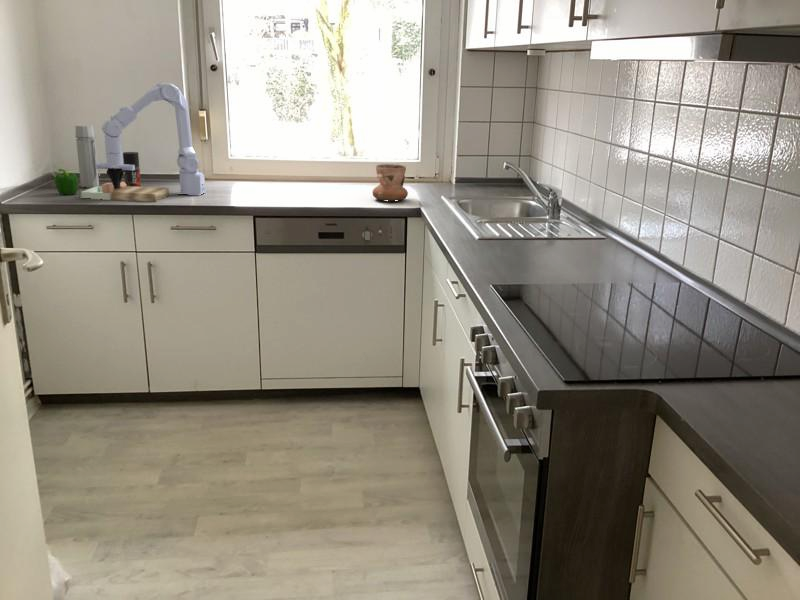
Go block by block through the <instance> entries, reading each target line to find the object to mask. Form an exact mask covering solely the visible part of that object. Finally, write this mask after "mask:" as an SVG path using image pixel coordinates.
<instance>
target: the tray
mask: <svg viewBox="0 0 800 600" xmlns="http://www.w3.org/2000/svg"><path fill="white" fill-rule="evenodd" d="M79 196H80V199H81V198H91V199H90V200H100V199H102V200H104V201H105V200H107V201H112V196H111V194H110V193H103V191H102V185H99V186H96V187H93V188H86V189H85V190H81V191H79Z"/></svg>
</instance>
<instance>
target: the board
mask: <svg viewBox="0 0 800 600" xmlns="http://www.w3.org/2000/svg"><path fill="white" fill-rule="evenodd" d="M168 195H169V196H170V192H169V187H151V186H141V187H134V186H125V187H123V188H121V189H118V190H115V191H113V192H112V199H111V201H128V200H129V201H132V202H133V201H134V202H149V201H154V202H155V203H156V201H157V202H158V200H159V201H160V199H161V200H163V199H165V198H167V197H169V196H168ZM166 196H167V197H166ZM164 197H165V198H164ZM162 198H163V199H162ZM154 202H153V203H154Z"/></svg>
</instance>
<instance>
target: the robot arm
mask: <svg viewBox="0 0 800 600" xmlns="http://www.w3.org/2000/svg"><path fill="white" fill-rule="evenodd" d="M158 101H166V102H168V103H169V104H170V105H171V106H172V107H174V110H175V120H176V128H177V137H178V139H177V140H178V145H179V148H178V156H177V159H176V163H177V167H179V170H178V172H179V187H180V190H179V192H177V193H176V194H177V195H178V194H188V195H187V196H202V195H203V193H204V194H205V193H206V192H207V191H206V181H205V180H206V179H205V174H204V173H203V172H199V170H198V169H199V167H200V161H199V160H198V158H197V155H196V154H197V153H196V151H195V149H194V147H193V137H192V129H191V128H192V127H191V120H190V119H191V118H190V111H189V110H190V109H189V101H188V100H187V98H186V97H185V96H184V95H183V93H182V92H181V90H180V88H179V87H177V85H174V84H173V83H170V82H168V83H167V82H159V83H156V85H155V86H153V87H151V88H150V89H148V90H147V92H145V93H144V94H143V95H142V96H141V97H140V98H139V99H138V100H136V101H135V102H134V103H133V104H132V105H131V106H124V107H122V106H121V107H120V108H119V111H117V113H115V114H114V115H111V116H110V117H109V118H110V119H107V120H105V121H104V122H103V124H102V127H101V131H102V132H103V133H104V147H105V148H104V149H105V156H106V157H105V159H106V163H104V162H103V163H102V162H99V163H97V164H95V167H96V169H98V170H99V169H100V170H106V175H108V177H109V179H110V180H111V183H112V184H113V187H114V189H119V188H120V183H121V182H122V178H123V176H124V175H125V172H124V171H125V170H131V171H133V170H135V165H129V164H124V161H123V151H122V139H121V135H122V132H123V130H125V129H126V128H127V127H128V126H129V125H130V124H131V123H133V122H134V121H135V120H137V117H138V116H137V114H138V113H140V112H141V111H143V110H144V109H145V108H146V107H148V106H149V105H150V104H152V103H153V102H158ZM201 194H202V195H201Z"/></svg>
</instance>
